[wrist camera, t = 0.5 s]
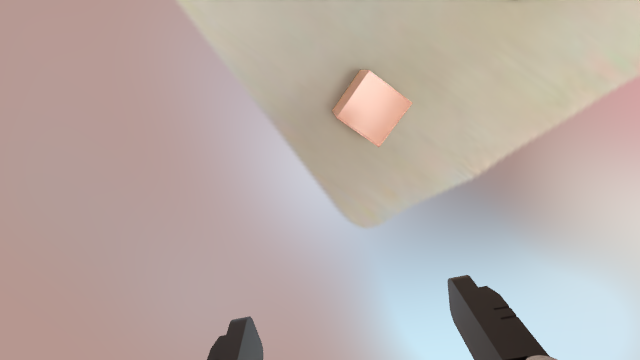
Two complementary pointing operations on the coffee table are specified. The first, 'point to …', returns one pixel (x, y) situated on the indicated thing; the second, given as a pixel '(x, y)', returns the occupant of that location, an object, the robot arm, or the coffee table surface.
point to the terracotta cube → (371, 107)
